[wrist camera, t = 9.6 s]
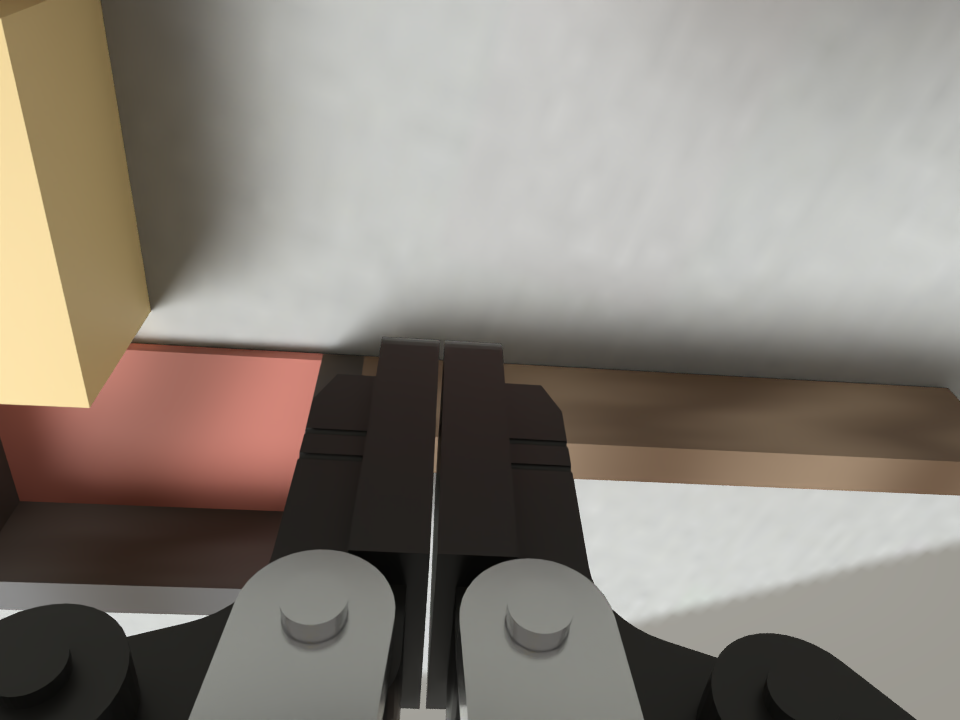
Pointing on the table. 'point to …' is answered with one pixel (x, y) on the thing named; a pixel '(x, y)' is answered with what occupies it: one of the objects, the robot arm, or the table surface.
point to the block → (63, 208)
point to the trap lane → (282, 424)
